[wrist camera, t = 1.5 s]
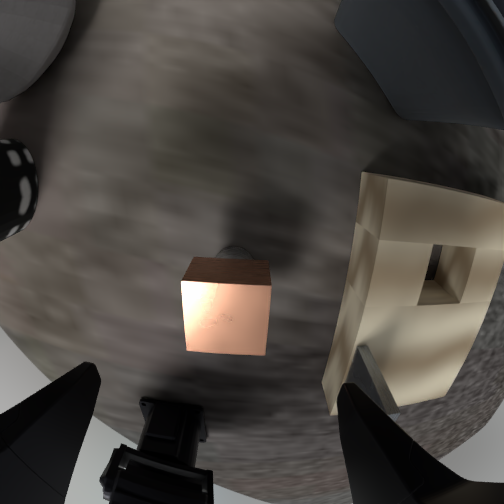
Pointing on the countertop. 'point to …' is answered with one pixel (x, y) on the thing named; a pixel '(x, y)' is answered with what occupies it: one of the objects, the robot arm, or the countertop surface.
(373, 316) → the block
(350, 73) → the countertop surface
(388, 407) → the latch flap
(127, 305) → the countertop surface
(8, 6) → the coffee pot
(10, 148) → the white-spotted black cylinder
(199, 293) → the peg
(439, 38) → the storage bin
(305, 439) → the countertop surface
